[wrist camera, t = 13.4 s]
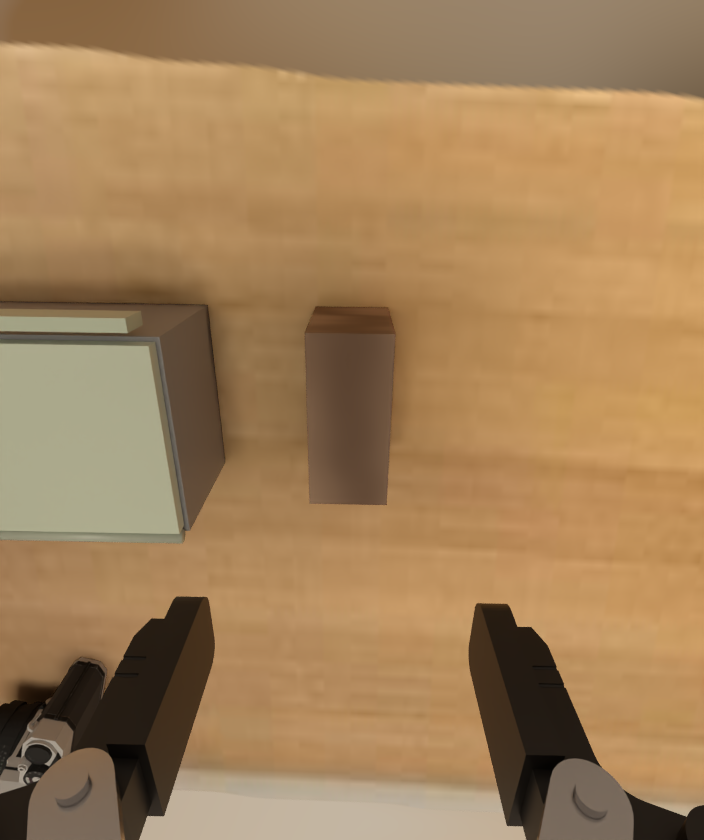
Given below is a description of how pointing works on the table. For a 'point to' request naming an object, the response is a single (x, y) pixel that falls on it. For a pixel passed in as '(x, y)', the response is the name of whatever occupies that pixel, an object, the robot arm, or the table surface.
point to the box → (168, 385)
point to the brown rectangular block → (349, 404)
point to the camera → (48, 725)
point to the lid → (84, 433)
